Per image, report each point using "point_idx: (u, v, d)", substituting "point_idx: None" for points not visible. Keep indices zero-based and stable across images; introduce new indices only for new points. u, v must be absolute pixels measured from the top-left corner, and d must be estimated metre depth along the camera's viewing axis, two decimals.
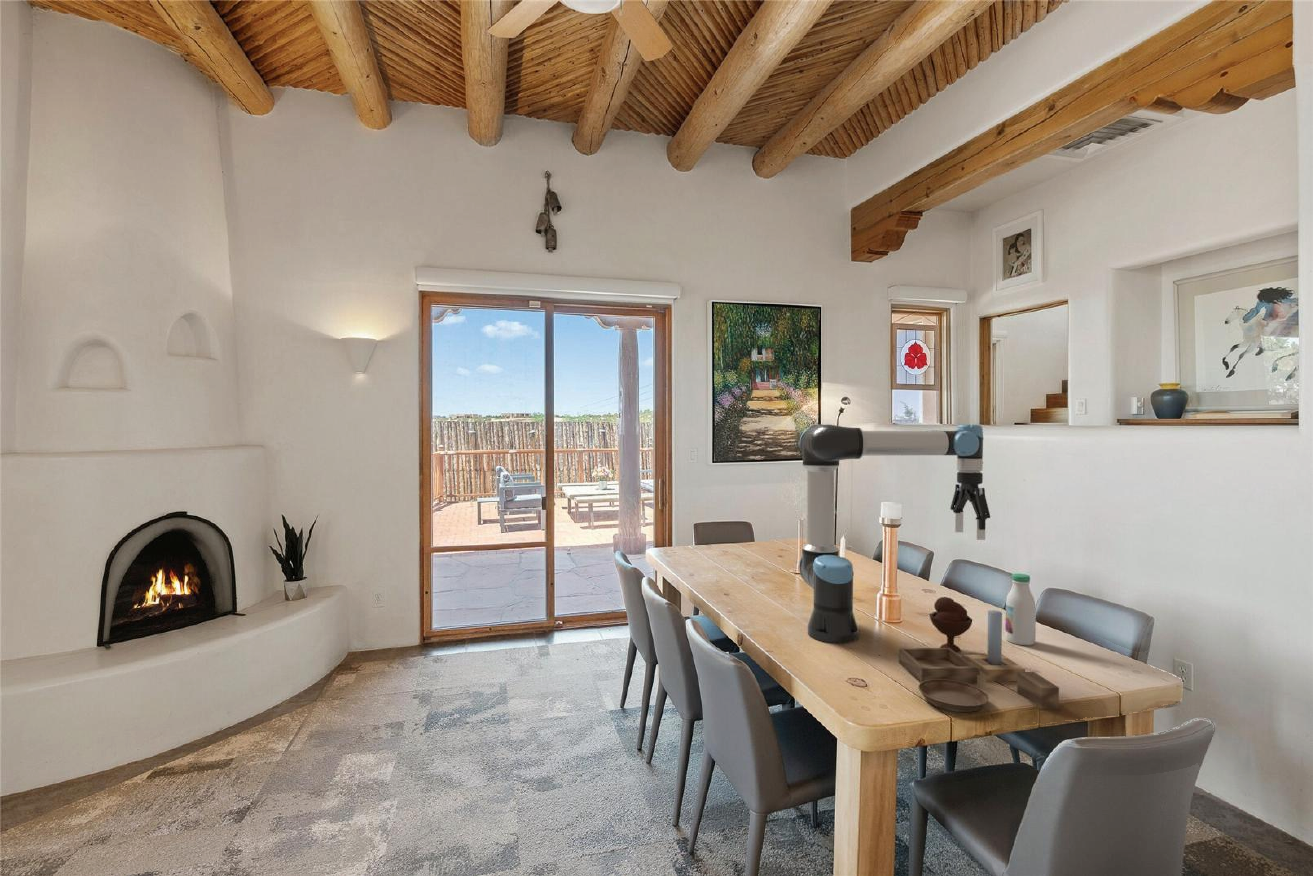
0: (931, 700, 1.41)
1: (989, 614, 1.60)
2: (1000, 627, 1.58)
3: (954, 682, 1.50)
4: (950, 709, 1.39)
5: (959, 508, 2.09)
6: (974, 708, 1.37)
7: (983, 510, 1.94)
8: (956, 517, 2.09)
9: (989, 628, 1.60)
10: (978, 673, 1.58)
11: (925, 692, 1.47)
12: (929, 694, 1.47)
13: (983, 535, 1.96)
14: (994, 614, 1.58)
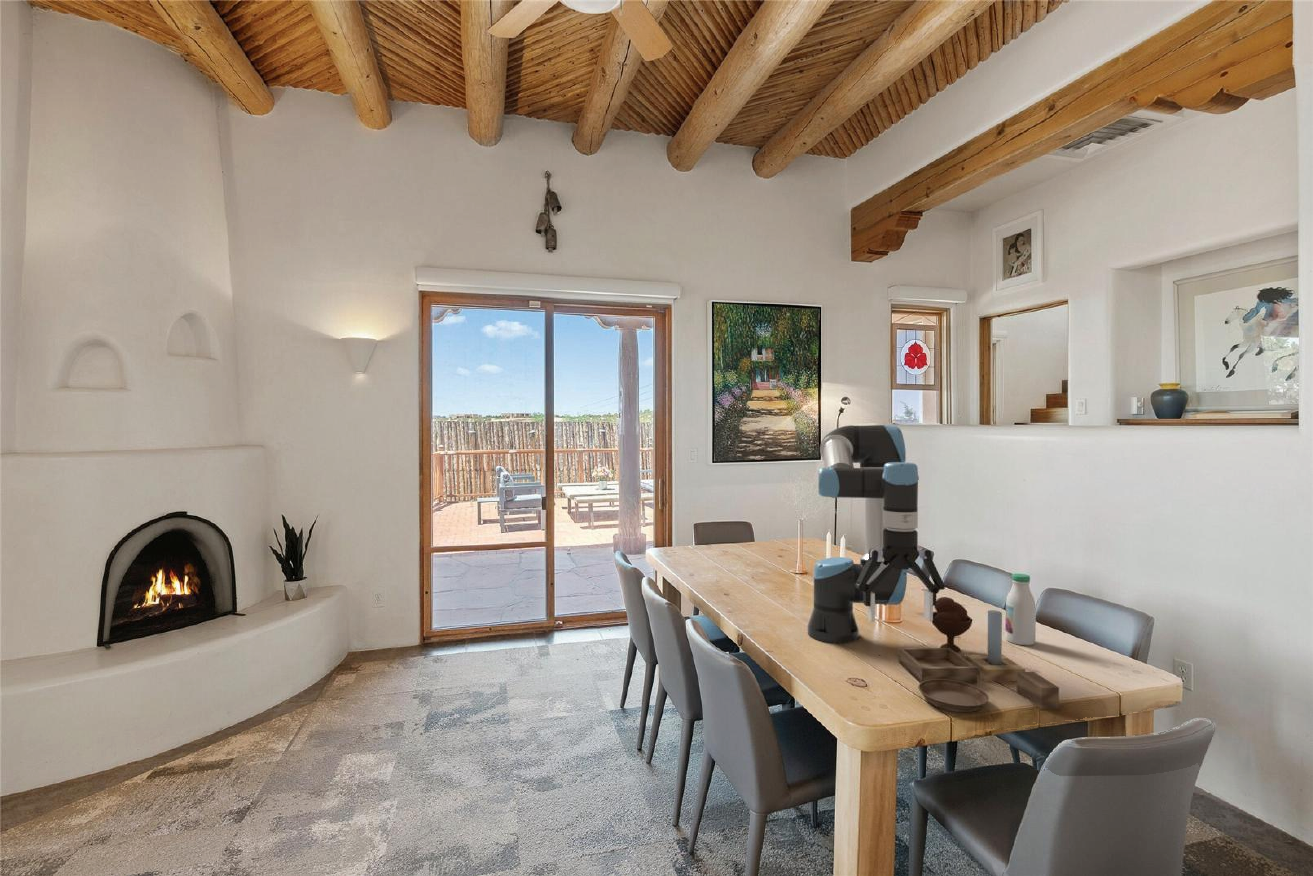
0: (931, 700, 1.41)
1: (989, 614, 1.60)
2: (1000, 627, 1.58)
3: (954, 682, 1.50)
4: (950, 709, 1.39)
5: (925, 584, 1.44)
6: (974, 708, 1.37)
7: (859, 578, 1.44)
8: (924, 596, 1.45)
9: (989, 628, 1.60)
10: (978, 673, 1.58)
11: (925, 692, 1.47)
12: (929, 694, 1.47)
13: (870, 615, 1.43)
14: (994, 614, 1.58)
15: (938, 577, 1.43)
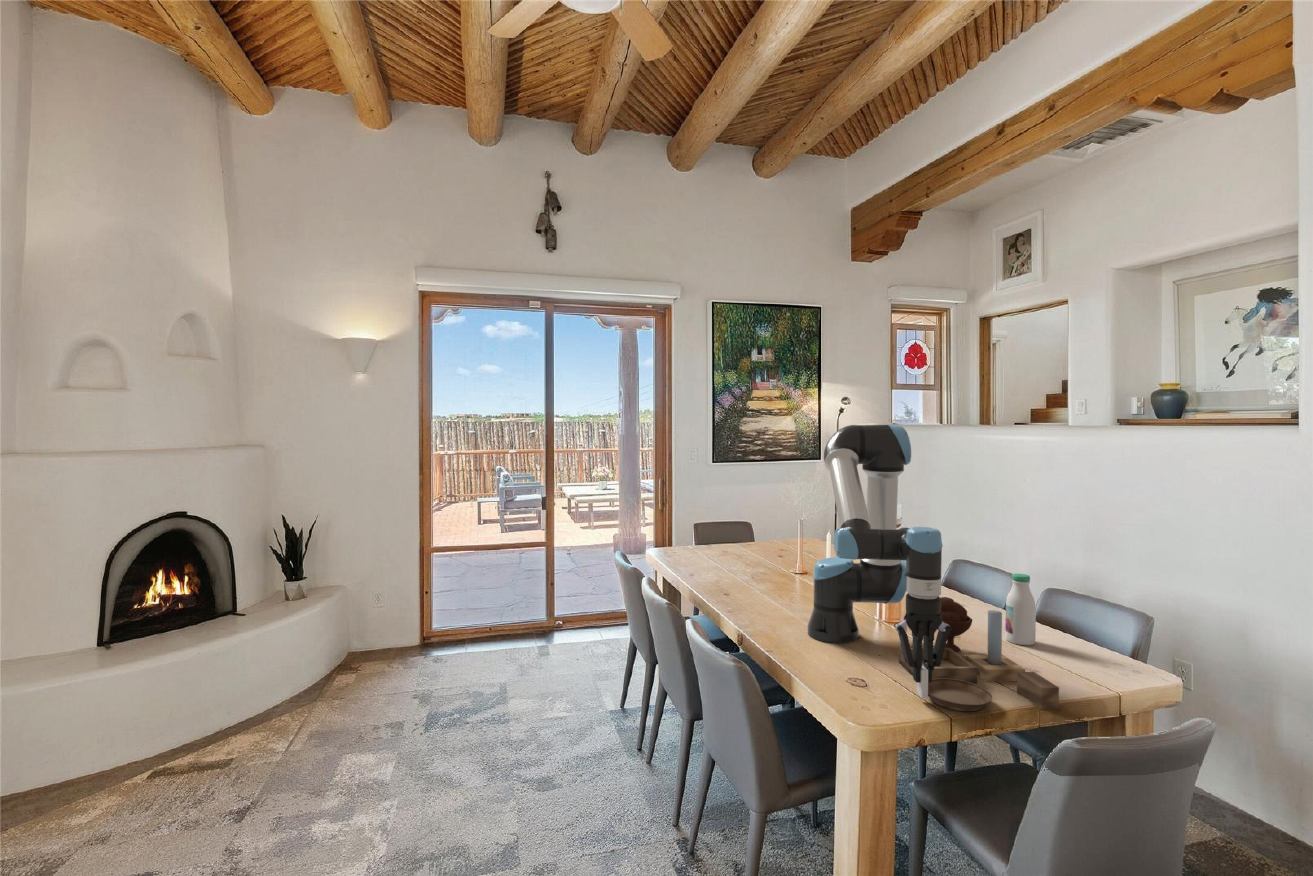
0: (935, 699, 1.41)
1: (989, 614, 1.59)
2: (1000, 627, 1.58)
3: (958, 681, 1.50)
4: (953, 708, 1.39)
5: (925, 657, 1.43)
6: (978, 707, 1.37)
7: (904, 655, 1.44)
8: None
9: (989, 628, 1.60)
10: (978, 673, 1.58)
11: (928, 691, 1.47)
12: (932, 693, 1.47)
13: (920, 691, 1.43)
14: (994, 614, 1.58)
15: (941, 654, 1.42)
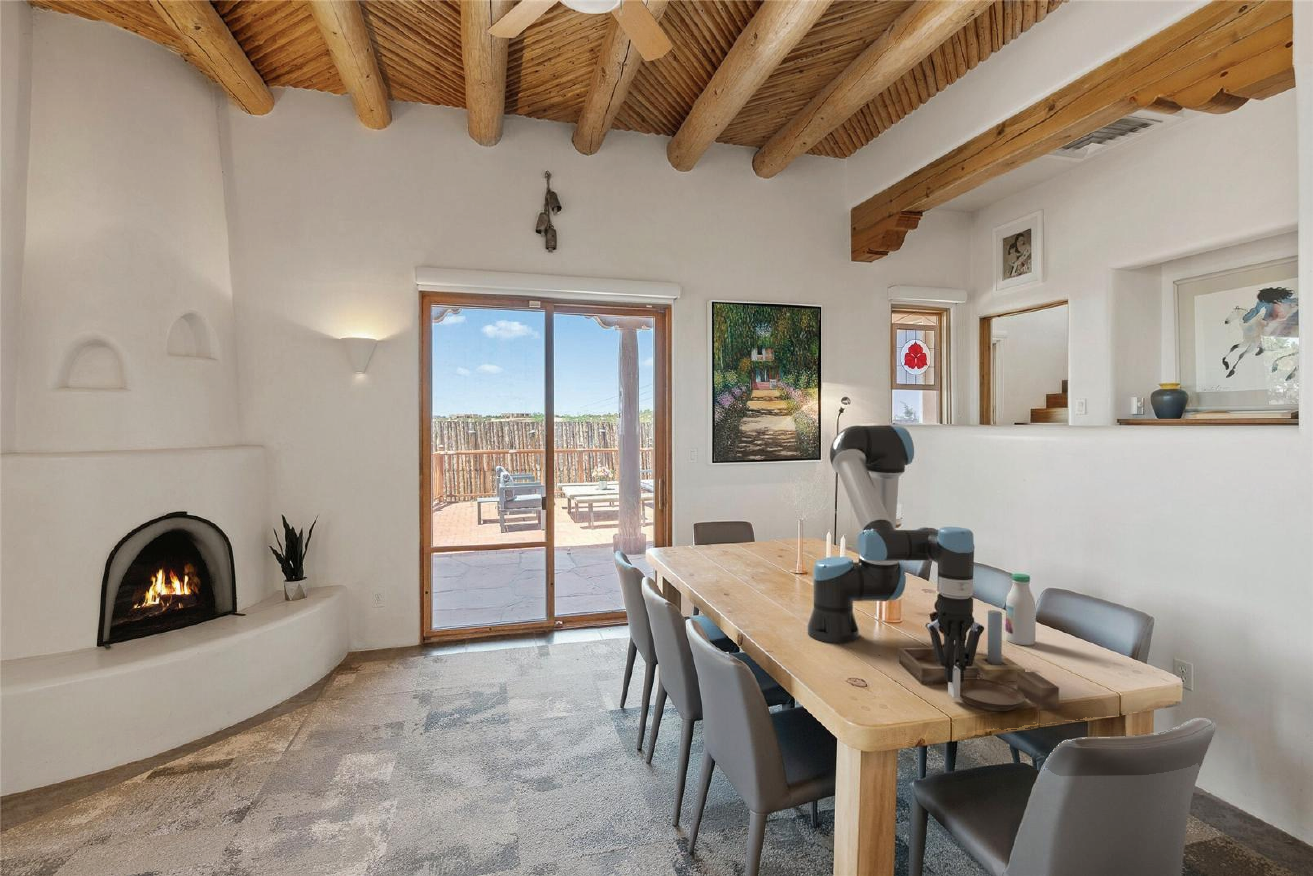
0: (968, 699, 1.41)
1: (989, 614, 1.60)
2: (1000, 627, 1.58)
3: (987, 681, 1.50)
4: (987, 708, 1.39)
5: (957, 656, 1.44)
6: (1011, 707, 1.37)
7: (936, 654, 1.44)
8: None
9: (989, 628, 1.60)
10: (978, 673, 1.58)
11: None
12: (963, 693, 1.47)
13: (952, 691, 1.43)
14: (994, 614, 1.58)
15: (973, 653, 1.42)
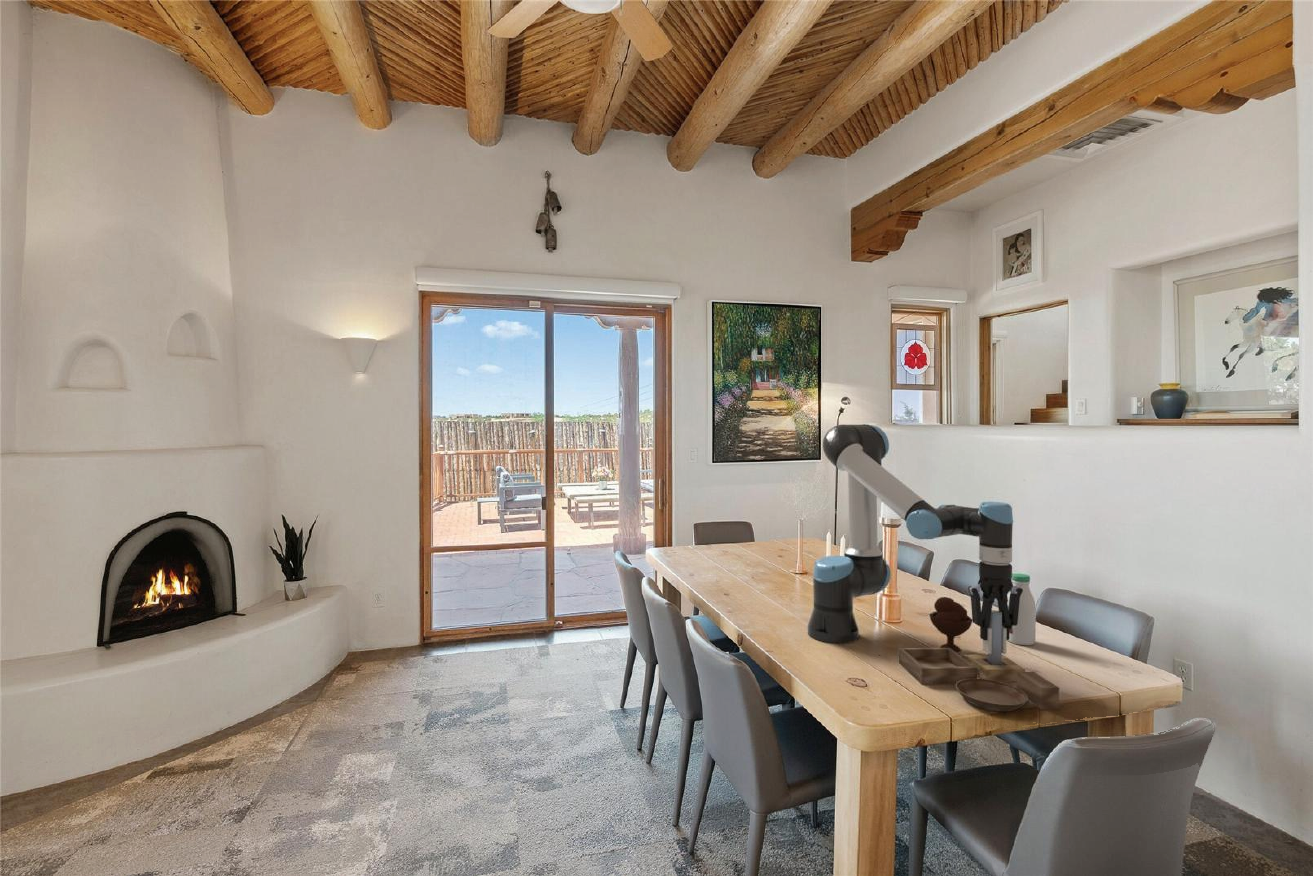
0: (971, 700, 1.41)
1: None
2: (1000, 627, 1.58)
3: (990, 681, 1.50)
4: (990, 708, 1.39)
5: (1002, 617, 1.60)
6: (1015, 707, 1.38)
7: (973, 615, 1.60)
8: None
9: None
10: (978, 673, 1.58)
11: (962, 692, 1.47)
12: (966, 694, 1.47)
13: (987, 648, 1.59)
14: (994, 614, 1.58)
15: (1016, 614, 1.59)
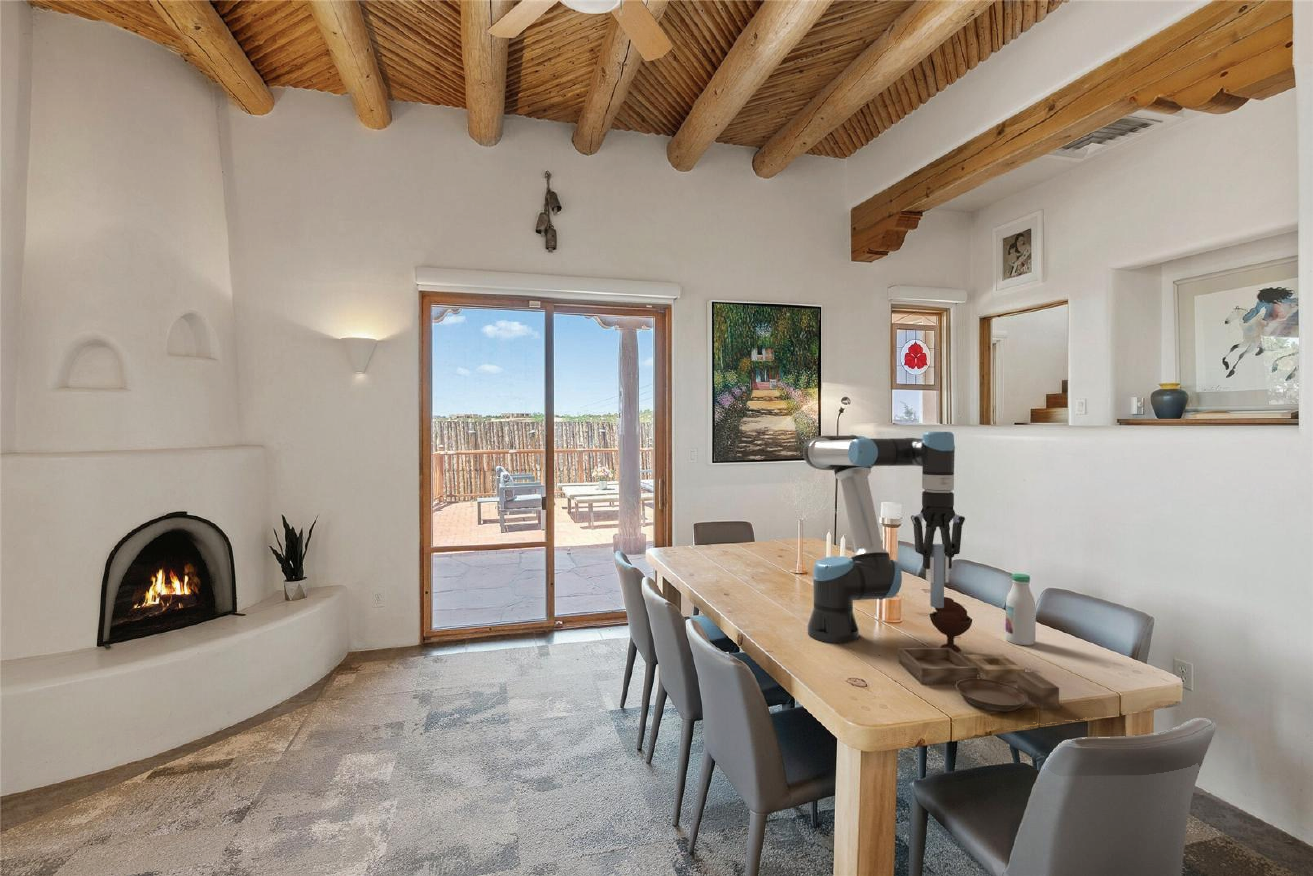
0: (971, 700, 1.41)
1: (932, 547, 1.59)
2: (942, 559, 1.58)
3: (990, 681, 1.50)
4: (990, 709, 1.39)
5: (944, 546, 1.60)
6: (1014, 707, 1.38)
7: (916, 544, 1.60)
8: None
9: None
10: (978, 673, 1.58)
11: (962, 692, 1.47)
12: (966, 694, 1.47)
13: (929, 576, 1.59)
14: (936, 546, 1.58)
15: (958, 542, 1.59)
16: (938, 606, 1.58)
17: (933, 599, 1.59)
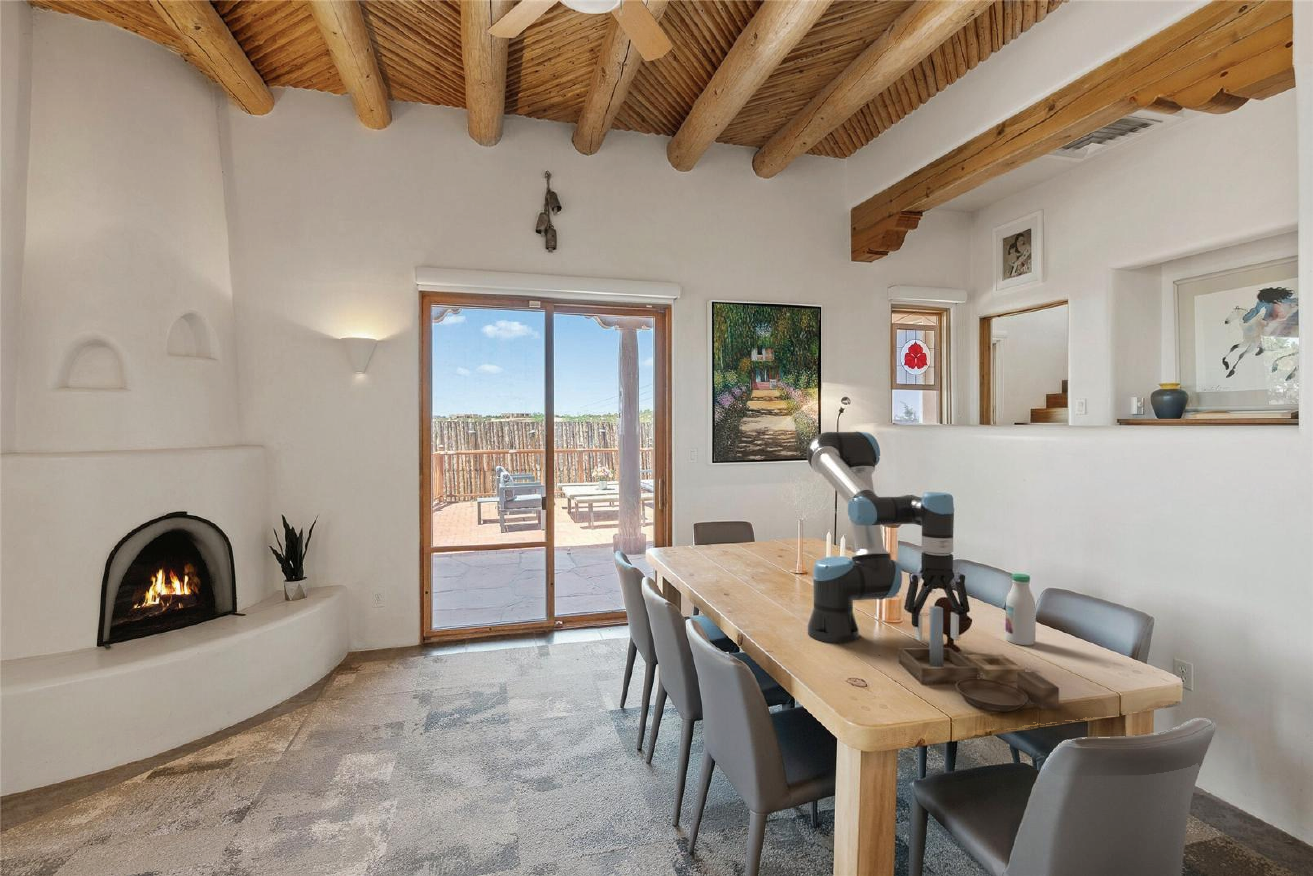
0: (971, 699, 1.41)
1: (930, 610, 1.60)
2: (941, 623, 1.59)
3: (990, 681, 1.50)
4: (990, 708, 1.39)
5: (953, 605, 1.60)
6: (1014, 707, 1.38)
7: (906, 601, 1.60)
8: (951, 618, 1.61)
9: (930, 624, 1.60)
10: (978, 673, 1.58)
11: (962, 691, 1.47)
12: (966, 693, 1.47)
13: (918, 634, 1.59)
14: (935, 610, 1.59)
15: (966, 600, 1.59)
16: None
17: (932, 663, 1.59)
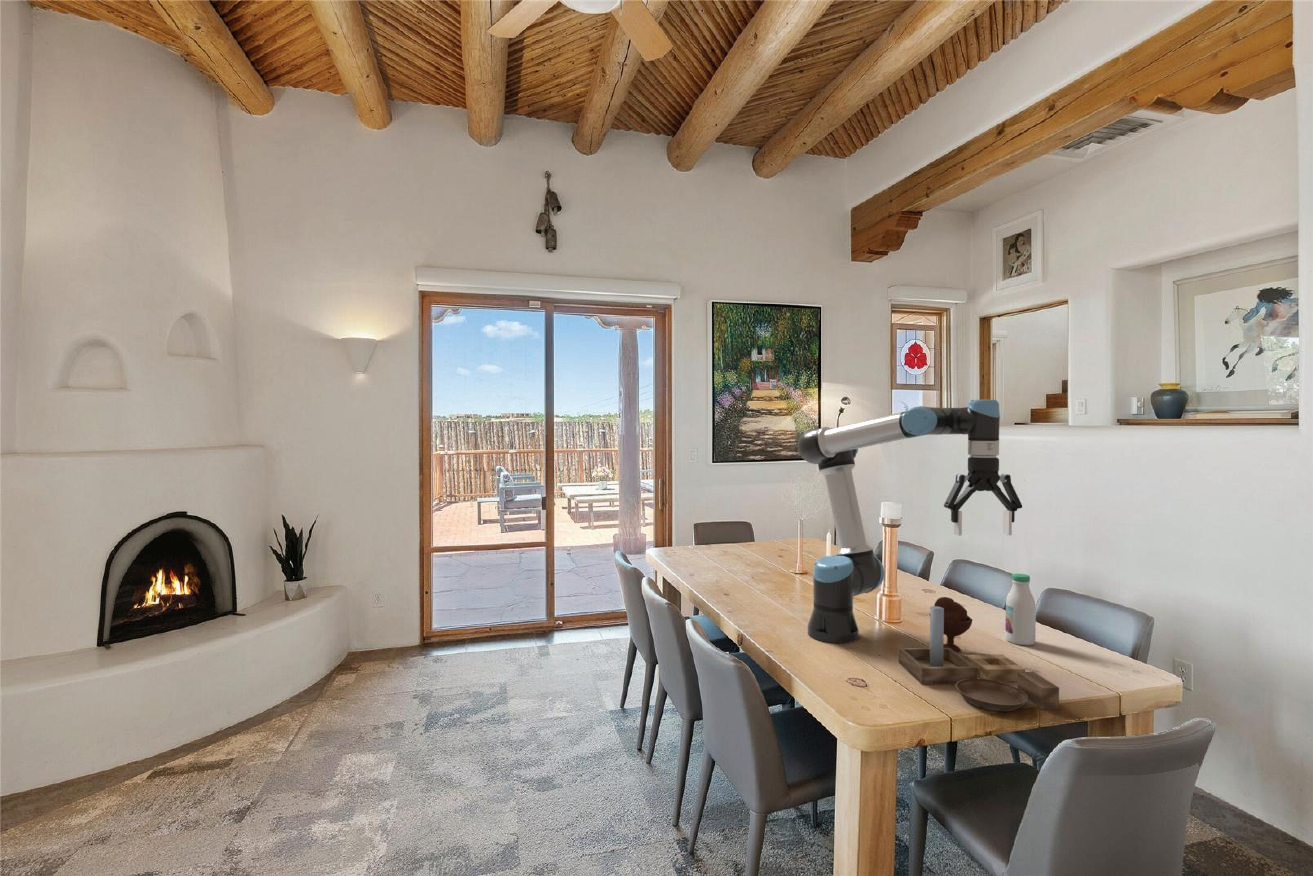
0: (970, 699, 1.41)
1: (931, 610, 1.60)
2: (942, 623, 1.59)
3: (990, 681, 1.50)
4: (990, 708, 1.39)
5: (1004, 504, 1.67)
6: (1014, 707, 1.38)
7: (948, 499, 1.68)
8: (1003, 515, 1.68)
9: (931, 624, 1.60)
10: (978, 673, 1.58)
11: (962, 691, 1.47)
12: (966, 693, 1.47)
13: (957, 530, 1.66)
14: (936, 610, 1.59)
15: (1016, 497, 1.66)
16: None
17: (932, 663, 1.59)
